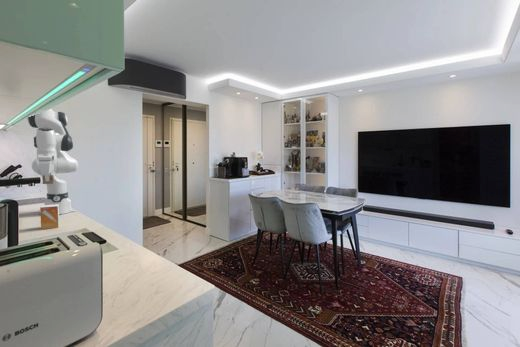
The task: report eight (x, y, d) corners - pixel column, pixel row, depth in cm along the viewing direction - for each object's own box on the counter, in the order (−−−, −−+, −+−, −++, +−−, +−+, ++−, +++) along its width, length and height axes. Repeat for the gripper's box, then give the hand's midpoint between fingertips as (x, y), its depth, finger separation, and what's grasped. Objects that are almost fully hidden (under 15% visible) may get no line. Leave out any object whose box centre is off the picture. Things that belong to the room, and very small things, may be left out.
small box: (41, 229, 149) (39, 207, 148) (42, 226, 154) (41, 205, 153) (58, 227, 153) (57, 205, 152) (59, 224, 159) (58, 203, 157)
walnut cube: (44, 183, 152) (43, 175, 152) (53, 182, 154) (53, 175, 154) (42, 184, 148) (42, 176, 148) (52, 183, 151) (52, 175, 150)
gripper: (43, 155, 157) (44, 178, 158) (36, 157, 140) (38, 183, 141) (56, 155, 160) (57, 178, 162) (51, 157, 143) (52, 182, 144)
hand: (48, 180), depth 151 cm, fingers closed on walnut cube, 4 cm apart
